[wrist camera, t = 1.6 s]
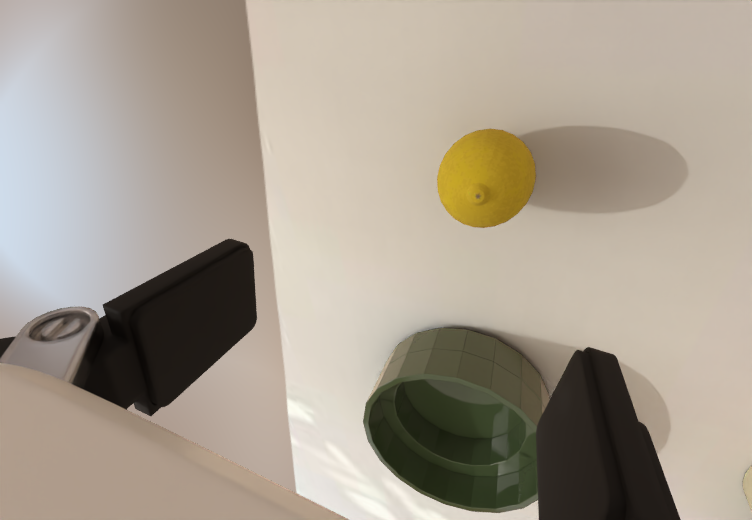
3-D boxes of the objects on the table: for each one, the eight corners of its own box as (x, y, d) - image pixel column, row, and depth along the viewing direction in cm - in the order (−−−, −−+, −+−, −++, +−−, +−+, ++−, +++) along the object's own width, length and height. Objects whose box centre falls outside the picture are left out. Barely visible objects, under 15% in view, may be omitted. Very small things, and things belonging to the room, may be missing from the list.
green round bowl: (576, 359, 28) (588, 425, 23) (518, 468, 36) (516, 537, 30) (399, 303, 32) (374, 347, 27) (379, 411, 40) (356, 464, 34)
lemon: (515, 213, 25) (511, 260, 19) (441, 191, 27) (412, 228, 20) (548, 134, 23) (558, 156, 16) (464, 113, 24) (439, 126, 17)
